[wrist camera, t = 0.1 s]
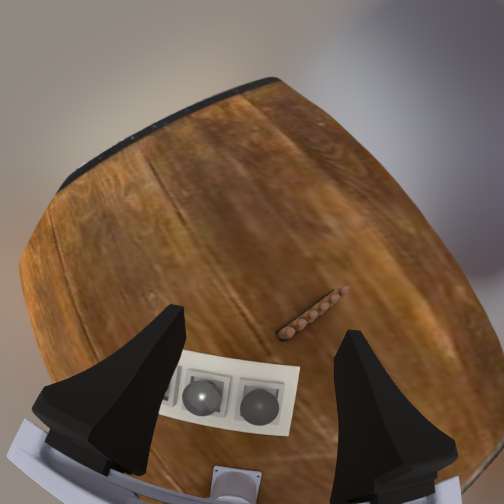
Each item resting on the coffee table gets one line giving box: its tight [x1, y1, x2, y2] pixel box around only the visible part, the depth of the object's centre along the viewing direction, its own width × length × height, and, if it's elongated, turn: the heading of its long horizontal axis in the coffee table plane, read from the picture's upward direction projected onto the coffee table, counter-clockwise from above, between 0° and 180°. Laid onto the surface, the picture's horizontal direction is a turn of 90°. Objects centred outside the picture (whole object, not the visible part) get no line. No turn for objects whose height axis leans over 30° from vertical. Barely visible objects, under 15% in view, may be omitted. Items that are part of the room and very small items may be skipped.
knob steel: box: [182, 380, 220, 416], centre depth 34 cm, size 5×5×4 cm
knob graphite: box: [240, 389, 279, 426], centre depth 34 cm, size 5×5×4 cm
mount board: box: [159, 349, 300, 436], centre depth 37 cm, size 12×27×4 cm, turn 82°
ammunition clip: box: [275, 286, 350, 341], centre depth 37 cm, size 11×2×12 cm, turn 125°
